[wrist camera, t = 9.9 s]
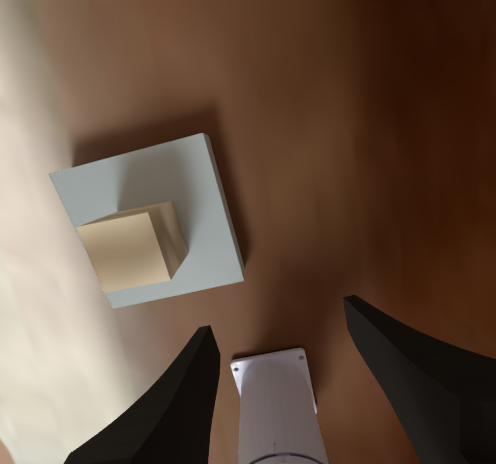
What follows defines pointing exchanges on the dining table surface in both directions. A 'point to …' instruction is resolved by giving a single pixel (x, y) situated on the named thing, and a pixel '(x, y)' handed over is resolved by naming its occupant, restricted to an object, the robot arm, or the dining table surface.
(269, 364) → the robot arm
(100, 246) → the birch cube
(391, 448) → the dining table surface
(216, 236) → the grey-blue block
